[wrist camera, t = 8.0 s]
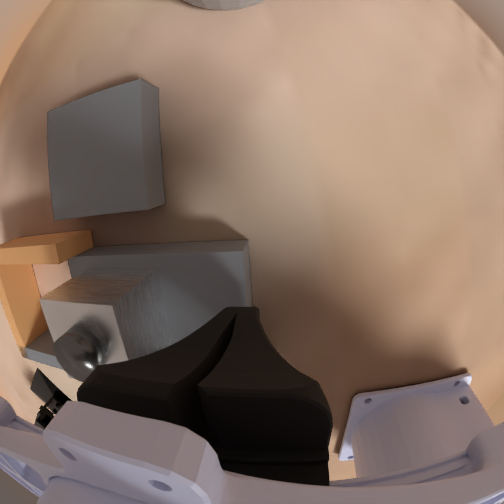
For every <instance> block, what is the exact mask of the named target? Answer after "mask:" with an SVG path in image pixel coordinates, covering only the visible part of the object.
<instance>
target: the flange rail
mask: <svg viewBox="0 0 504 504" xmlns="http://www.w3.org/2000/svg"><path fill="white" fill-rule="evenodd" d="M66 260H68V264H69V268H70V273H71V277H72V278H73V277H75V276H77V275H78V274H80V273H82V272H83V271H85V270H87V269H88V268H126V267H157V272H158V278H159V284H160V289H161V295H162V300H163V305H164V310H165V315H166V320H167V325H168V329H169V334H170V338H171V343H170V345H172V344H174V343H176V342H178V341H180V340H182V339H183V338H185V337H187V336H188V335H190V334H191V333H193V332H194V331H196V330H197V329H199V328H200V327H201V326H203V325H204V324H205V323H207V322H208V321H209V320H211V319H212V318H213V317H214V316H216V315H217V314H218V313H219V312H220V311H222V310H223V309H224V308H226V307H253V304H252V290H251V275H250V260H249V245H248V240H223V241H199V242H176V243H154V244H134V245H114V246H95V247H94V246H93V240H92V234H91V230H82V231H72V232H63V233H53V234H44V235H35V236H27V237H19V238H16V239H13V240H11V241H8V242H6V243H3V244H1V245H0V299H1V302H2V305H3V308H4V311H5V314H6V317H7V319H8V322H9V325H10V327H11V330H12V333H13V335H14V338H15V340H16V342H17V345H18V347H19V349H20V352H21V354H22V356H23V357H24V358H27V359H30V360H33V361H36V362H39V363H43V364H46V365H49V366H52V367H56V368H59V369H63V368H62V367H61V365H60V364H59V362H58V361H57V359H56V357H55V354H54V348H53V346H54V341H53V338H52V336H51V333H50V330H49V327H48V325H47V322H46V319H45V316H44V313H43V310H42V307H41V303H40V300H39V299H40V298H41V297H40V293H39V290H38V286H37V283H36V279H35V275H34V271H33V267H32V264H60V263H62V262H64V261H66ZM170 345H169V346H170ZM63 370H64V369H63Z"/></svg>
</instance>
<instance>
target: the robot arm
mask: <svg viewBox="0 0 504 504" xmlns="http://www.w3.org/2000/svg"><path fill="white" fill-rule="evenodd" d="M471 379H472V376H471V374H470V373H465V374H462V375H458V376H454V377H450V378H446V379H441V380H437V381H432V382H427V383H423V384H417V385H412V386H407V387H401V388H395V389H388V390H381V391H374V392H366V393H359V394H357V395H355V396H354V397H353V399H352V404H351V408H350V412H349V417H348V421H347V425H346V429H345V433H344V437H343V441H342V444H341V448H340V451H339V455H338V457H339V460H341V461H347V460H354V463H355V469H356V476H357V478H353V479H345V480H336V481H329V470H328V461H329V451H328V446H329V441H330V437H331V432H332V427H333V419H332V414H331V410H330V407H329V405H328V402H327V399H326V397H325V395H324V393H323V391H322V389H321V387H320V385H319V383H318V382H317V381H316V380H314V379H312V378H310V377H308V376H306V375H304V374H302V373H301V372H299V371H298V370H296V369H295V368H293V367H292V366H291V365H290V364H289V363H288V362H287V361H286V360H284V359H283V358H282V356H281V355H280V354H279V353H278V352H277V351H276V349H275V348H274V347H273V345H272V344H271V342H270V341H269V339H268V337H267V336H266V334H265V332H264V330H263V327H262V325H261V323H260V319H259V309H258V308H257V307H226V308H224V309H223V310H222V311H220V312H219V313H218V314H217V315H216V316H214V317H213V318H212V319H211V320H209V321H208V322H207V323H205V324H204V325H203V326H201V327H200V328H199V329H197V330H196V331H194V332H193V333H191V334H190V335H188V336H187V337H185V338H183V339H182V340H180V341H178V342H176V343H174V344H172V345H170V346H168V347H166V348H163V349H161V350H158V351H156V352H153V353H151V354H148V355H145V356H142V357H139V358H135V359H131V360H127V361H123V362H117V363H111V364H104V365H97V366H96V368H95V369H94V370H93V371H92V372H91V374H90V375H89V376H88V377H87V378H86V380H85V381H84V382H83V383H82V384H81V386H80V387H79V388H78V391H77V400H78V401H67V402H66V403H65V404H64V405H63V407H62V408H61V409H60V410H59V412H58V413H57V414H56V415H55V417H54V418H53V419H52V421H51V422H50V423H49V424H48V426H47V427H46V428H45V430H43V429H41V428H39V427H37V426H35V425H33V424H31V423H30V422H28V421H26V420H24V419H22V418H20V417H19V416H17V415H16V413H15V411H14V409H13V408H12V406H11V405H10V404H9V402H8V401H7V400H5V399H4V398H2V397H1V396H0V468H1V469H2V470H4V471H5V472H6V473H8V474H9V475H10V476H11V477H12V478H14V479H15V480H16V481H18V482H19V483H20V484H22V485H23V486H24V487H26V488H27V489H28V490H30V491H31V492H33V493H34V494H35V495H37V496H38V497H40V498H39V500H38V502H37V503H36V504H504V422H502V423H500V424H498V425H496V426H494V424H493V422H492V421H491V419H490V418H489V416H488V414H487V413H486V411H485V409H484V408H483V406H482V405H481V403H480V402H479V400H478V398H477V397H476V395H475V394H474V392H473V391H472V389H471V388H470V386H469V384H470V382H471ZM368 398H369V399H368ZM366 399H367V400H366Z"/></svg>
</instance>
